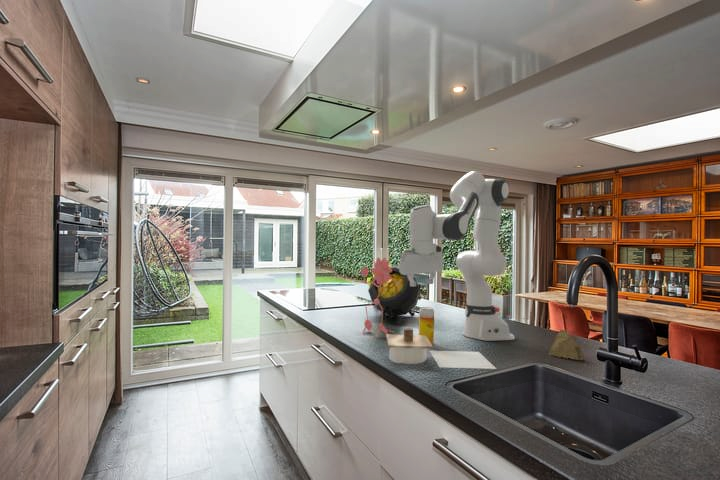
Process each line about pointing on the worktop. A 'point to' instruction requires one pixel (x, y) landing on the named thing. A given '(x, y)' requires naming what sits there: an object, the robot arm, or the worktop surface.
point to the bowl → (408, 355)
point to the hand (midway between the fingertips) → (421, 285)
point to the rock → (566, 347)
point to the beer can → (426, 323)
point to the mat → (461, 359)
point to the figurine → (381, 276)
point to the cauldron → (395, 294)
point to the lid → (408, 340)
